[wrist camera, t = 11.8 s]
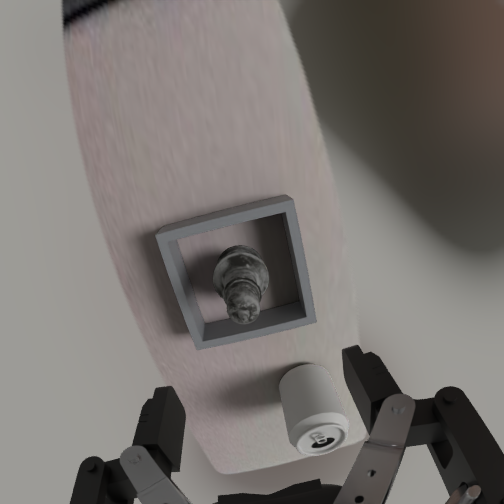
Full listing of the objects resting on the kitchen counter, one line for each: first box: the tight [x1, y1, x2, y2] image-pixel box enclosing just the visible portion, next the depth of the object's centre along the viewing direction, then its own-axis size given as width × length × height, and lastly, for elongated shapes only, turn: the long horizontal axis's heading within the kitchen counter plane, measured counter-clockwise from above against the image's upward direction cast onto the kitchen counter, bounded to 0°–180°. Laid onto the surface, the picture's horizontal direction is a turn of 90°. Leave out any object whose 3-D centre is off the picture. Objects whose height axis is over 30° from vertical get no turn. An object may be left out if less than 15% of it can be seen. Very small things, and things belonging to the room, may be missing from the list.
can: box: [279, 364, 349, 456], centre depth 36 cm, size 8×8×12 cm
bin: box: [155, 195, 317, 350], centre depth 34 cm, size 14×14×4 cm
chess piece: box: [213, 245, 269, 324], centre depth 30 cm, size 6×6×12 cm
